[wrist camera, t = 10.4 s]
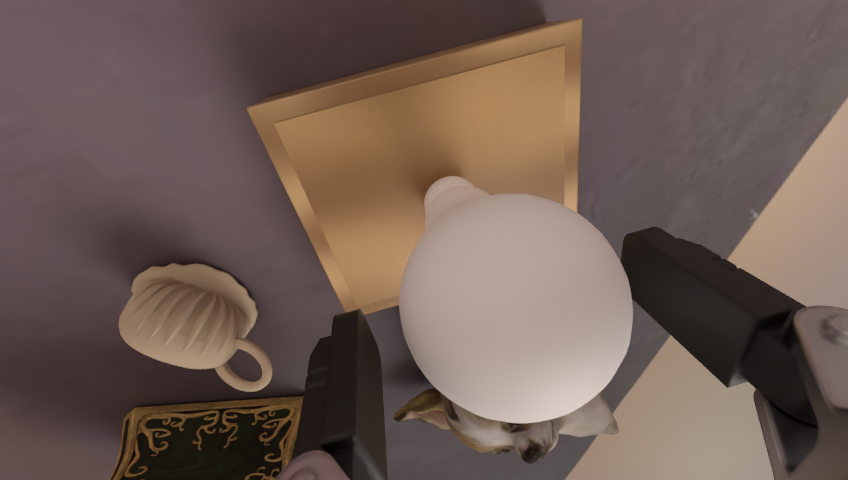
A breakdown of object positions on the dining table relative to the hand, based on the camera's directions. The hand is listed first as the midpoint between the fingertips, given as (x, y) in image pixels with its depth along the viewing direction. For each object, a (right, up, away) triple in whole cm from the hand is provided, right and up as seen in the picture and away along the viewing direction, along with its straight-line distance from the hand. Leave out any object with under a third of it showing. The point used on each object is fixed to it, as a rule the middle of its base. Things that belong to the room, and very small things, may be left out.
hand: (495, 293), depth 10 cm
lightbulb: (-1, +4, +6) cm, 8 cm away
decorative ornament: (-15, -2, +11) cm, 19 cm away
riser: (-2, +5, +9) cm, 10 cm away
